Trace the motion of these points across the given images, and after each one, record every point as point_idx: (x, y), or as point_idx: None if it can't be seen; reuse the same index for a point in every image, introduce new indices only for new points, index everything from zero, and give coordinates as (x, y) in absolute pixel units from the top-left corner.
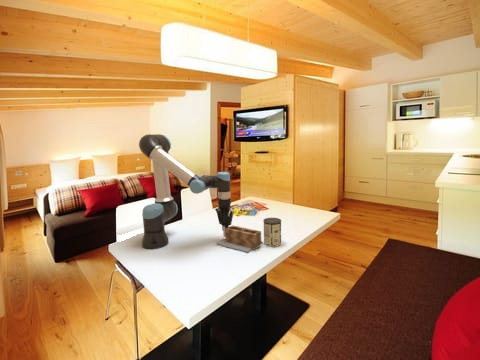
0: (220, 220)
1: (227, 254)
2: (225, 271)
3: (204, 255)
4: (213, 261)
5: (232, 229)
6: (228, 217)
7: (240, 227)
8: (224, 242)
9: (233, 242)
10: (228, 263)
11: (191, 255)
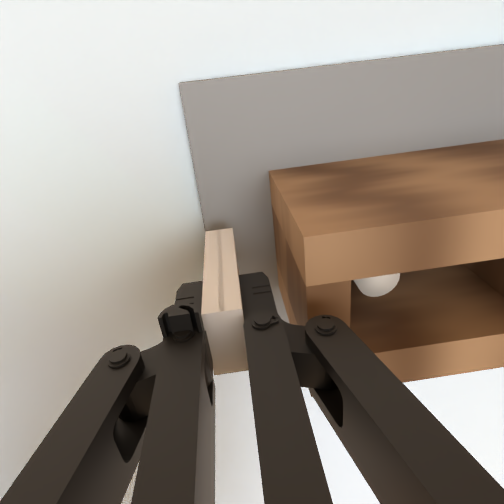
0: (131, 462)
1: (412, 386)
2: (498, 480)
3: None
4: None
5: (419, 358)
6: (322, 470)
7: (501, 226)
8: (280, 305)
9: None
10: (476, 439)
11: (230, 498)
